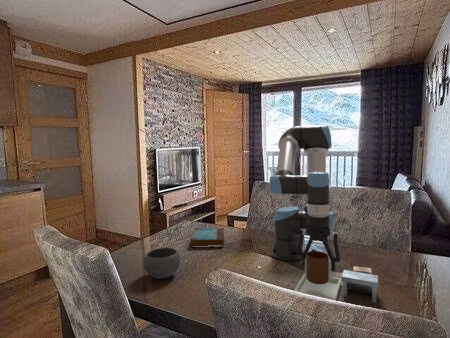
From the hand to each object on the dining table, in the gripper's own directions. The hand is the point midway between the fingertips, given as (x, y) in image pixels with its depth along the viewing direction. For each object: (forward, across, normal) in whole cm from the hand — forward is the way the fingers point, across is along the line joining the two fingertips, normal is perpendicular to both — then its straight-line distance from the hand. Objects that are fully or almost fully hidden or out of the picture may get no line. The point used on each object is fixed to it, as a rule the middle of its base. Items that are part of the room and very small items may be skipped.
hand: (318, 276), depth 103 cm
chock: (+5, +14, +11) cm, 18 cm away
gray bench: (+5, +13, +3) cm, 15 cm away
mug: (+1, -1, 0) cm, 1 cm away
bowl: (+5, -60, -16) cm, 62 cm away
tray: (+5, 0, 0) cm, 5 cm away
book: (+5, -67, +31) cm, 74 cm away
